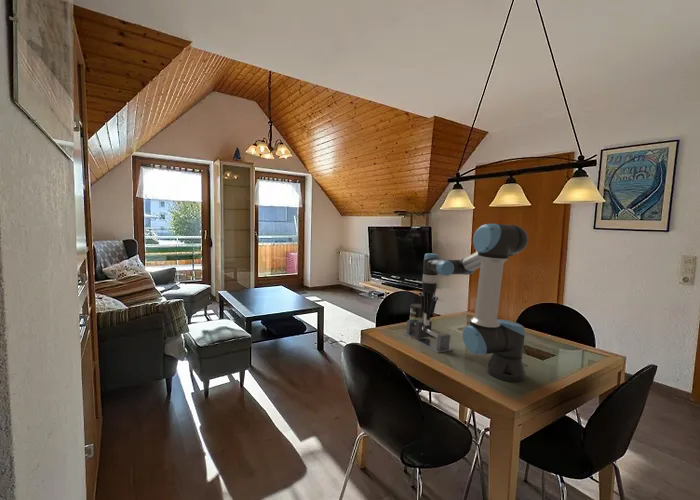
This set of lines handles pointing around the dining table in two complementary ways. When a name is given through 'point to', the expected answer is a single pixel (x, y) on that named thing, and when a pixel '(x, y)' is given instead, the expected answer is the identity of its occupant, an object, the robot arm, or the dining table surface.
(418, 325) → the collar
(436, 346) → the rail
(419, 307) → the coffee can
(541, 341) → the dining table surface
